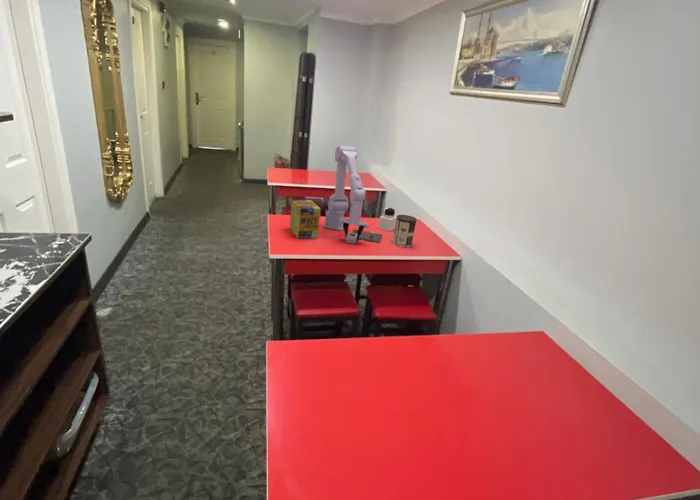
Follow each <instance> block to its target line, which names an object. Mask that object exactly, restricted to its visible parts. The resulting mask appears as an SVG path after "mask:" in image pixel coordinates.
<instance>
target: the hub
mask: <svg viewBox="0 0 700 500" xmlns="http://www.w3.org/2000/svg"><path fill="white" fill-rule="evenodd" d="M357 236H358V234H354V233H352V232H349V231H348V234H347V235H346V238H345V243H348V244H353V245H354V244H355V245H356V244H357V243H358V240H357Z"/></svg>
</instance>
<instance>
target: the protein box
mask: <svg viewBox="0 0 700 500" xmlns="http://www.w3.org/2000/svg"><path fill="white" fill-rule="evenodd" d="M290 205H291V206H290V217H289V218H290V220H289V229H290V231H291V232H292V233H293V234H294V235H295V237H296V238H297V239H317V238H319V237H318V235H319V229H320V228H319V226H320V219H321V217H320V216H321V207H319V206H318V204H316V203H315V202H314V201H312V200H311V199H291V204H290Z"/></svg>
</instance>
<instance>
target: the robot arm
mask: <svg viewBox="0 0 700 500" xmlns="http://www.w3.org/2000/svg"><path fill="white" fill-rule="evenodd" d="M357 158H358V149H357V147H356V146H354V145H353V146H351V145H350V146H348V145H337V147H336V148H335V153H334V161H335V162H336V172H335V173H336V175H335V185H334V193H333V194H331V195H330V196H329V199H328V201H327V206H328V208H327V209H328V210H327V211H326V213H325V219H324V220H325V221H324V226H323V227H324V228H326V229H331V230H336V231H342V230H343V231H344V238H345V239H346V235H347V234H348V232H349V227H350V226H356V227H358V228H357V229H358V236H357V241H359V240H360V239H359V236H360V234H361V232H362V231H364V229H368V228H369V225H370V223H368V222H364V221H361V218H362V211H363V205H364V201H365V200H366V199H367V190H366V189H365V186H363V183H362V177H361V175H360V174H358V169H357V161H356V160H357ZM347 170H348V173H349V177H348V181H349V186H350V193H349V197H350V201H349V198H348V197H347V196H346V194H345V191H346V190H345V189H346V179H347V177H346V175H347ZM349 202H350V206H349ZM349 207H350V210H349V215H348V216H349V217H348V218H345V216H344V215H345V213H346V212H347V211H348V209H349Z"/></svg>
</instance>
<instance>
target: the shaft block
mask: <svg viewBox="0 0 700 500" xmlns="http://www.w3.org/2000/svg"><path fill="white" fill-rule="evenodd" d="M351 233H354V234H358V228H354V229H353V230H352V231H351ZM382 239H383V234H382V233H377V232H375V231H374V230H371V231H365V230H363V231H362V232H361V234H360V236H359V239H358V240H360V241H361V240H362V241H365V242H371V243H378V244H381V241H382Z"/></svg>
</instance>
